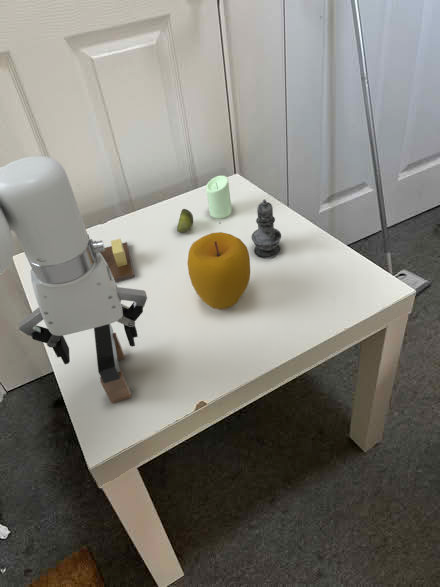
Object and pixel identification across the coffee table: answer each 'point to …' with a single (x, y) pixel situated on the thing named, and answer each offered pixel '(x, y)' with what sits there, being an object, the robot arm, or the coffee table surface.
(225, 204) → the candle
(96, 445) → the coffee table surface
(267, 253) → the black chess piece
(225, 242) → the apple
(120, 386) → the brown block
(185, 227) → the lime
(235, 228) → the coffee table surface
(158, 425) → the coffee table surface
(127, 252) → the butter board
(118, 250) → the butter slice
